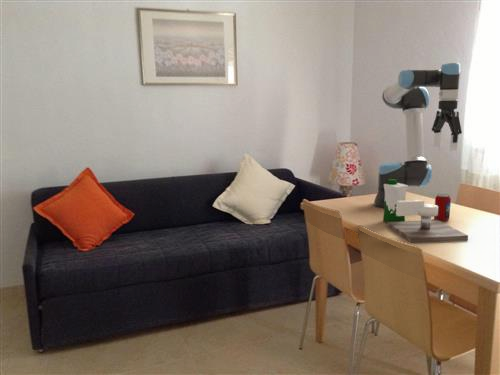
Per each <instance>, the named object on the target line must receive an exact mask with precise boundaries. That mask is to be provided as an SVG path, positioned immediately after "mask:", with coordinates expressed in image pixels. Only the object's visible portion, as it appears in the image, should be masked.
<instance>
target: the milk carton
mask: <svg viewBox="0 0 500 375" xmlns="http://www.w3.org/2000/svg"><path fill="white" fill-rule="evenodd" d="M408 188H409V186H408V185H404V184H400V183H397V179H388V183H387V184H384V190H385V203H384V208H383V217H382V222H383V223H387V222H400V221H406V219H405V217H406V216H398V215H396V203H397V201H405V200H406V196H407V194H406V193H407V191H408Z"/></svg>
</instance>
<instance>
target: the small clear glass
mask: <svg viewBox="0 0 500 375" xmlns="http://www.w3.org/2000/svg"><path fill="white" fill-rule="evenodd" d="M431 220H432V217H425V216H420V221H421V226H420V228H421V229H424V230H429V229H430V227H431Z"/></svg>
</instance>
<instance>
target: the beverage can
mask: <svg viewBox="0 0 500 375" xmlns="http://www.w3.org/2000/svg"><path fill="white" fill-rule="evenodd" d="M451 202H452V199H451V197H450V194H446V193H438V194H436V196H435V198H434V205H437V206H438V215H437V216H434V217H433V218H434V220H439V221H441V222H446V221H449V220H450V216H451V215H450V213H451Z"/></svg>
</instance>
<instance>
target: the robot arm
mask: <svg viewBox="0 0 500 375" xmlns="http://www.w3.org/2000/svg"><path fill="white" fill-rule="evenodd" d="M460 75H461V64H460V63H459V62H447V63H442V64H441V67H440V69H406V70H405V69H404V70H401V71H400V72H399V74H398V78H397V80H396V81H395V83H393V84H392V85H389V86H387V87H385V89H384V90H383V92H382V96H381V98H382V101H383V103H384V105H386V106H387V107H389V108H392V109H396V110H398V109H401V110H402V113H403V114H404V115H405V139H406V159H405V160H404V162H401V161H389V162H384V163H382V164H381V163H380V165H379V167H378V180H377V181H378V184H377V193H376V195H375V198H374V200H373V205H374V206H375V207H377V208H382V209H384V203H385V190H384V184H387V183H388V179H397V183H400V184H404V185H408V187H419V188H420V187H425V186H428V185H429V184H430V181H431V179H432V176H433V175H432V174H433V168H432V165H431V164H428V160H427V159H426V158H425V148H424V144H425V143H424V142H425V141H424V123H423V122H424V119H423V116H424V115H423V114H424V113H425V111H426V109H427V108H428V107H429V105H430V96H429V91H428V90H427V88H434V87H435V88H439V92H438V95H439V96H438V99H439V101H438V106H437V108H438V110H437V111H436V113H435V114H436V115H435V117H434V121H433V124H432V128H431V131H432V132H433V133H434V137H433V148H441V138H442V131H441V130H442V129H443V127H444V125H445V123H447V124H448V126H449V129H450V132H451V134H450V142H449V143H450V144H449V151H457V150H458V149H457V148H458V142H459V141H458V139H459V135H461V134H462V127H461V122H460V115H459V114H460V112H459V111H455V110H457V109H458V102H459V101H458V99H459V87H460V77H461V76H460Z"/></svg>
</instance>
